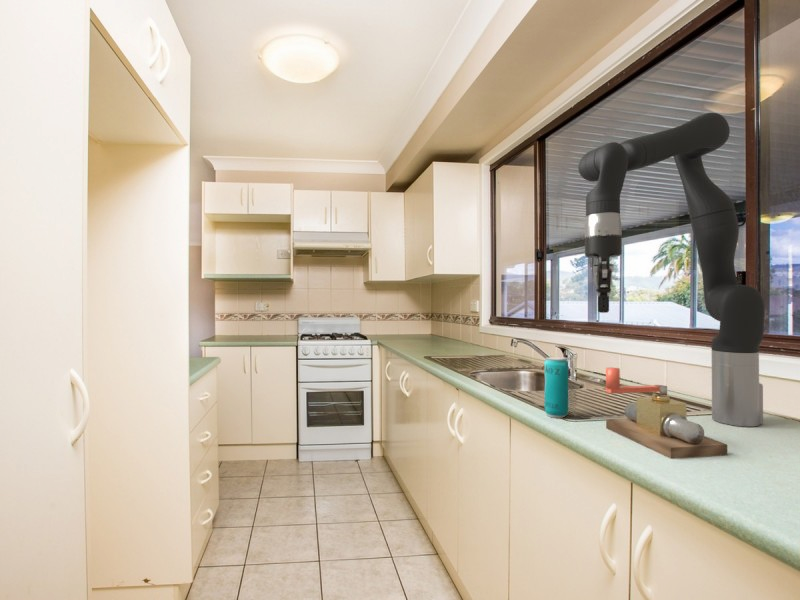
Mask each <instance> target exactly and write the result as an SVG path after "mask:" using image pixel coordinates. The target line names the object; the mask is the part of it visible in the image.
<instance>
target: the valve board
mask: <svg viewBox="0 0 800 600" xmlns="http://www.w3.org/2000/svg"><path fill="white" fill-rule="evenodd" d="M624 416H625V417H626V418H613V419H606V420H605V423H606V424H605V427H606V429H607V430H609V431H610V432H611V431H612V432H613V433H615V434H617V435H620V436H622V437H624V438H627V439H628V440H630V441H633V442H635V443H636V444H639V445H642V446H643V447H646V448H648V449H650V450H652V451H654V452H656V453H658V454H661V455H663V456H665V457H666V458H669V459H683V458H699V457H715V456H727V455H728V444H727V443H724V442H722V441H718V440H715V439H714V438H711V437H708V436H705V430H704V428H703V426H702V425H701V424H699V423H696V422H693V421H691V420H688V419H687V403H686V402H683V401H679V400H675V399H673V398H670V395H668V394H667V395H657V394H654V393H652V394H651V396H637V397H636V402H634V401H633V402H629V403H628V404H627V405H626V406H625V407H624Z"/></svg>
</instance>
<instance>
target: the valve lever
mask: <svg viewBox="0 0 800 600" xmlns="http://www.w3.org/2000/svg"><path fill="white" fill-rule="evenodd" d="M620 372H621V371H620V368H618V367H612V366H611V367H610V366H609V367H605V392H606V393H608V394H631V393H632V394H634V393H653V394H657V395H668V386H667V385H663V384H654V385H653V384H651V385H649V384H648V385H627V386H626V385H623V386H622V385H621V384H620V383H621V380H620V379H621V378H620V376H621V373H620ZM620 385H621V386H620Z"/></svg>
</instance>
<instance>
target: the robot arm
mask: <svg viewBox="0 0 800 600" xmlns="http://www.w3.org/2000/svg"><path fill="white" fill-rule="evenodd" d="M730 129H731V128H730V125H729V122H728V120H727V119H726V118H725V117H724V116H723V115H721V114H720V113H717V112H706V113H703V114H700V115H698V116H696V117H694V118H693V119H691V120H689V121H686V122H684V123H683V124H681V125H678V126H675V127H673V128H669V129H665V130H662V131H659V132H654V133H649V134H646V135H642V136H641V135H640V136H638V137H633V138H630V139H627V140H624V141H622V142H620V143H619V142H615V141H612V142H608V143H605V144H603V145H601V146H598V147H596V148H594V149H592V150H590V151H588V152H586V153H585V154H584V155H583V156H581V158H580V160H579V162H578V166H577V167H578V168H577V169H578V173H579V175H580V176H581V178H583V180H585V181H587V182H588V181H589V182H593V183H594V182H597V183H596V185H595V187H594V188H592V189H591V190H589V192H587V195H586V196H585V197H586V198H585V224H584V256H585V257H586V258H589V259H596V264H593V266H592V269H593V271H592V272H593V274H594V285H595V286H596V290H595V291H596V295H597V311H598V313H601V314H605V313H606V314H607V313H609V312H610V295H611V291H612V289H611V285H612V284H613V272H614V263H612V264H611V262H610V261H611V260H610V258H616V257H620V256H621V255H622V253H623V249H622V248H623V247H622V244H623V243H622V241H623V240H622V239H623V238H622V237H623V236H622V219H621V193H622V190H623V187H624V182H625V179H626V175H627V172H630V171H636V170H638V169H639V170H640V169H642V168H646V167H649V166H653V165H655V164H657V163H660V162H663V161H665V160H668V159H670V158H672V157H673V160H674V162H675V165H676V168H677V171H678V174H679V177H680V181H681V183H682V188H683V190H684V191H683V192H684V195H685V198H686V203H687V208H688V212H689V214H688V215H689V220H690V224H691V228H692V229H691V230H692V233H693V237H694V241H695V246H696V250H697V251H696V252H697V255H698V259H699V260H698V261H699V264H700V269H701V276H702V285H703V286H702V287H703V299H704V305H705V309H706V311H707V313H708V314H709V316H710V317H711V318H712V319H714V320H716V321H718V322H719V330H718V333H717V335H716V336H714V337H713V338H712V339H711V419H712V420H713V421H715V422H718V423H721V424H725V425H731V426H735V427H736V426H738V427H758V426H760V425H764V386H763V384H762V383H761V382H760V346H761V343H762V341H763V338H764V329H765V303H764V302H765V301H764V299H763V296H762V294H761V293H760V291H759V290H758V289H757V288H755V287H753V286H750V285H747V284H739V281H738V278H737V274H736V270H735V269H736V268H735V255H736V251H737V246H738V241H739V233H740V228H739V221H738V217H737V216H738V215H737V211H736V207H735V204H734V201H733V200H732V198H731V197H730V196H729V195H728V194H727V193H726V192H725V191H724V190H722V189H721V187H719V186H718V185H716V183H714V182H713V180H711V178H709V176H708V174H707V173H706V170H705V166H704V164H703V159H702V156H704V155H705V156H706V154H710V153H712V152H714V151H716V150H718V149H720V148H721V147H723V146H724V144H726V143H727V141H728V139H729V137H730V133H731V132H730Z"/></svg>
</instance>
